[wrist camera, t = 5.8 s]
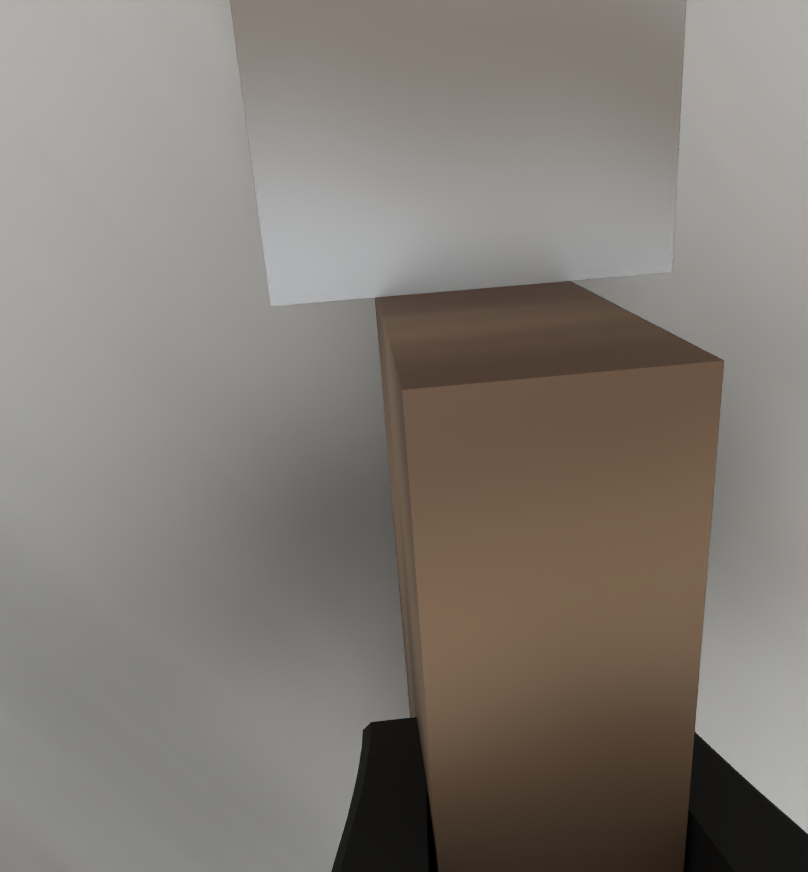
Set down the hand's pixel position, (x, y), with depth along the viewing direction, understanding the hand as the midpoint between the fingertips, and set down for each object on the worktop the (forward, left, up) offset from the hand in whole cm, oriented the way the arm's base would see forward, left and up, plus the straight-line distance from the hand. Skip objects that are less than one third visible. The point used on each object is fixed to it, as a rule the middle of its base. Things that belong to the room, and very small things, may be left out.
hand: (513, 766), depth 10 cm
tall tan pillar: (+2, 0, -3) cm, 3 cm away
